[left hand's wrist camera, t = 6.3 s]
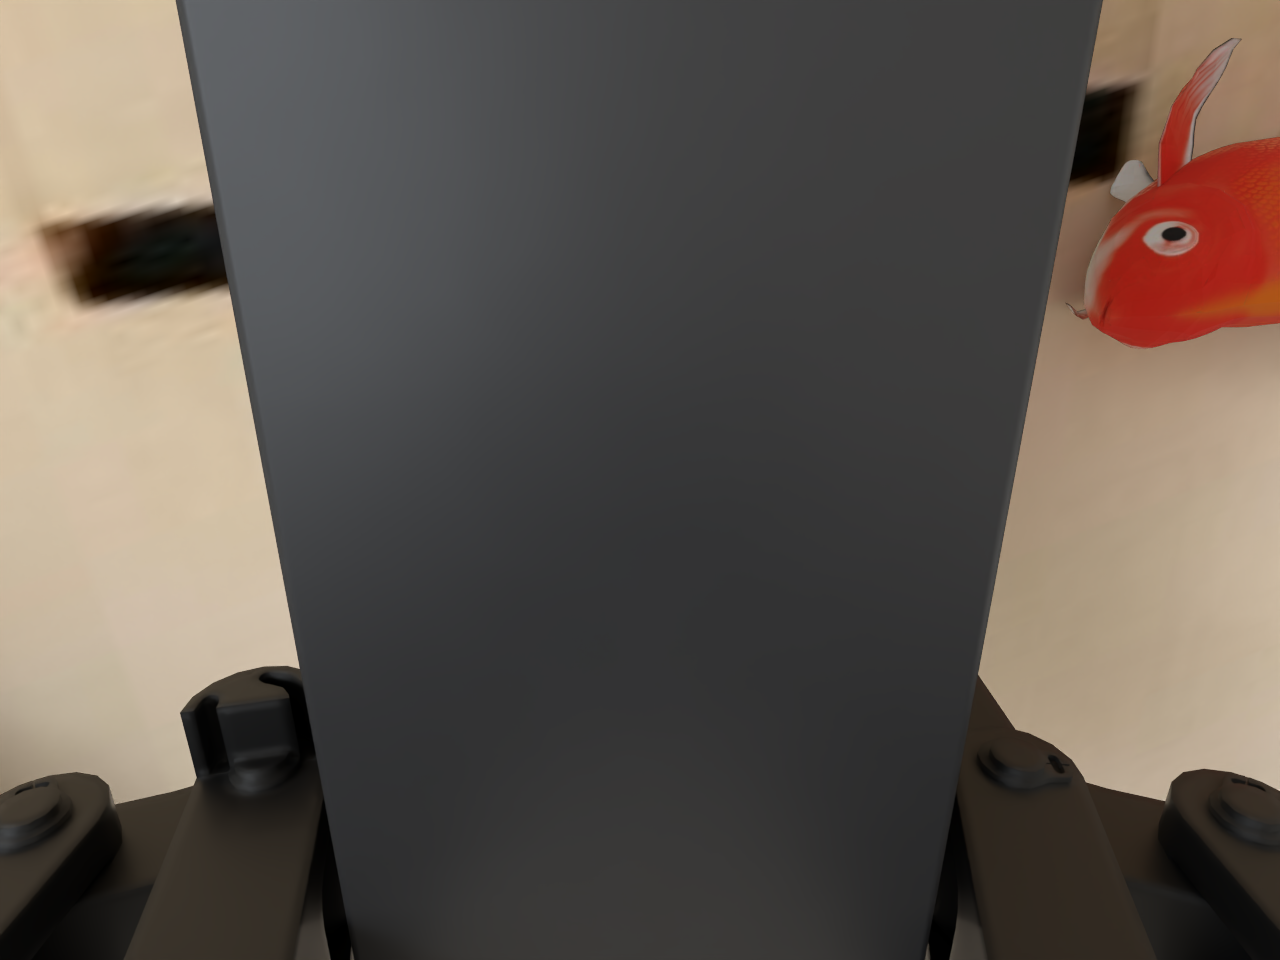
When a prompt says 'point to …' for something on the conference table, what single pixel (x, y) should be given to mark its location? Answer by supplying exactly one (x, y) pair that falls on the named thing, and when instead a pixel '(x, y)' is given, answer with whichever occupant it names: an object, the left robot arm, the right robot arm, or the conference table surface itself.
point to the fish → (1190, 234)
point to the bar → (639, 441)
